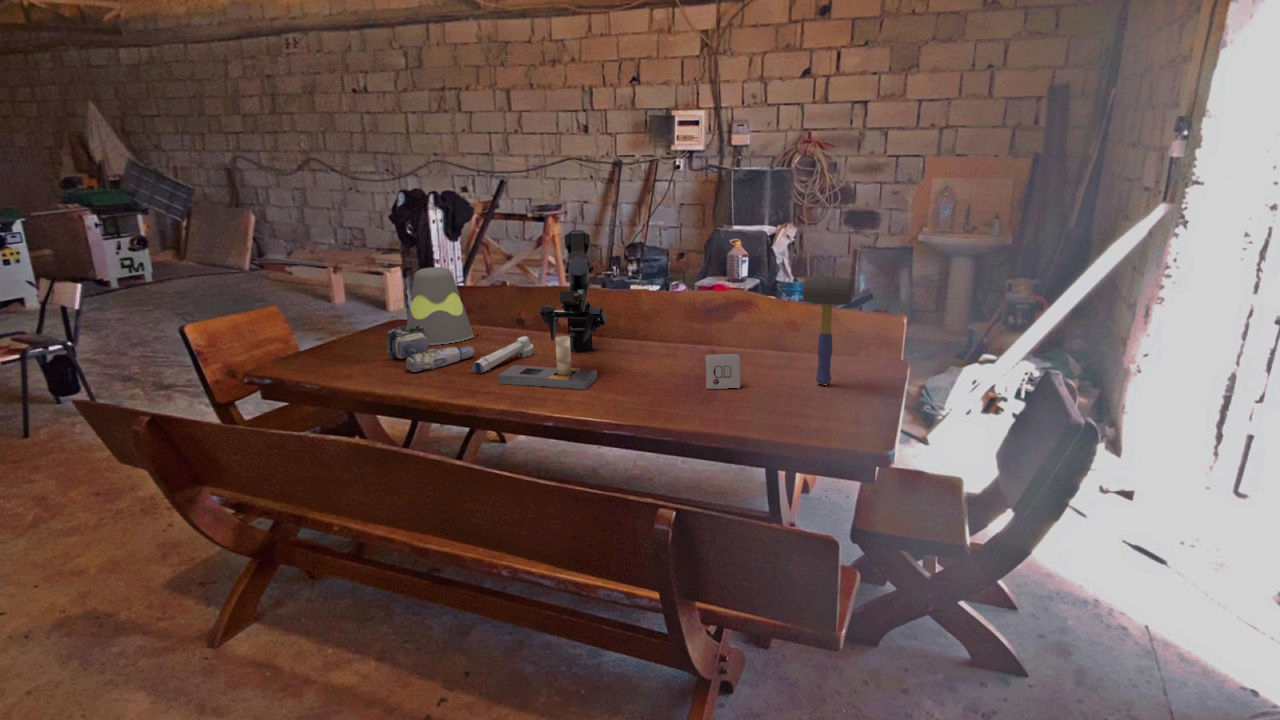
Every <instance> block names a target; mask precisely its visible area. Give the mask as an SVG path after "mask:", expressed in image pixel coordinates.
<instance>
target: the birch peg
mask: <svg viewBox="0 0 1280 720" xmlns="http://www.w3.org/2000/svg"><path fill="white" fill-rule="evenodd" d="M554 340H555V341H554V342H555V357H556V368H557V376H570V377H571V376H572V372H571V368H572V356H571V355H572V354H571V353H572V352H571V349H570V336H568V335H561V336H560V335H559V336H555V338H554Z"/></svg>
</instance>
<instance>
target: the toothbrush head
mask: <svg viewBox="0 0 1280 720" xmlns="http://www.w3.org/2000/svg"><path fill="white" fill-rule="evenodd" d="M533 349H534V344H533V343H531V341H530V338H529V337H528V336H526V335H524V336H520V337H518V338H517V340H516V341H515V342H513V343H511V344H509V345H507V346H504V347H503V348H500V349H498V350H496V351H494V352H491V353H490V354H487V355H485V356H481V357H480V358H479V359H478V360H477V361H474V362H473V364H471V365H472V371H473V372H474V374H478V373H479V375H482V374H483V372H484V373H485V372H490V370H491V369H492V368H494V367H495V366H497V365H499V364H501V363H502V362H503V361H505V360H507V359H509V358H510V357H512V356H514V355H516V356H517V358H526V357H531V356H532V355H533V353H534V350H533Z"/></svg>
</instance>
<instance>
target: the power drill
mask: <svg viewBox="0 0 1280 720" xmlns="http://www.w3.org/2000/svg"><path fill="white" fill-rule="evenodd" d="M406 327H407V326H405V325H400V326H398V327H395V328H394V327H393V328H391V329H390V330H388V332H387V335H386V338H385V339H386V345H387V349H386V353H387V354H388V356H389V358H390V360H393V359H401V360H403V359H405V366H406V368H407V369H408V370H409V371H410V372H411V373H414V372H415V373H417V372H421V371H423V370H424V371H427V370H435V369H439V368H440V367H444V366H448V365H451V363H452V364H455V363H457V362H459V361H461V360H462V361H463V360H465V359H469V358H471V357H473V356H474V355H475V349H474V347H473V346H472V345H463V346H458V347H457V346H451V347H444V348H440V349H437V348H431V349H430V348H428V347H429V346H428V339H427V334H426V333H425V328H424V326H413V327H411V328H410V329H408V328H406ZM438 367H439V368H438ZM434 368H435V369H434ZM426 369H427V370H426Z"/></svg>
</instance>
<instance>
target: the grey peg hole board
mask: <svg viewBox="0 0 1280 720" xmlns="http://www.w3.org/2000/svg"><path fill="white" fill-rule="evenodd" d="M571 372H572V376H571V377H570V376H557V367H550V366H549V367H548V366H533V365H516V364H513V365H510V367H508V368H507V369H505V370H504V371H502V372H501V373H499V374H498V384H500V385H517V386H527V385H531V386H530V387H541V386H546V387H545V388H555V387H558V388H557V389H569V388H573V389H572V390H583V389H586V390H587V389H588V388H589V387H591V385H593V384H594V383H595V382H596V379H597V380H598V370H595V369H583V368H582V369H581V368H579V367H578V368H577V367H571ZM532 385H534V386H532ZM547 386H548V387H547Z"/></svg>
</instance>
